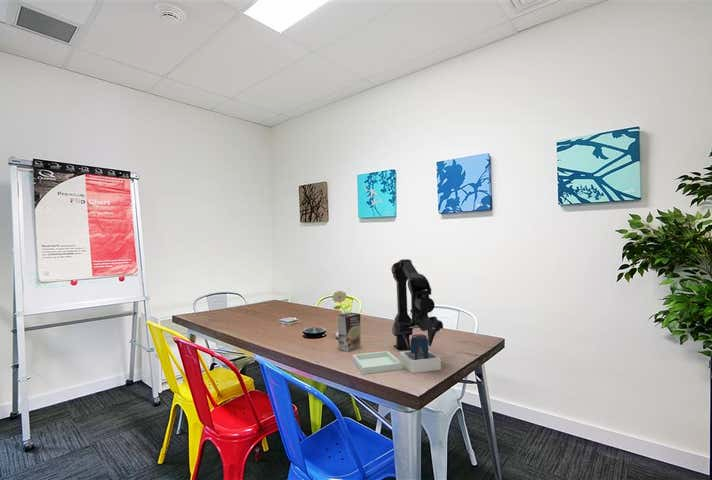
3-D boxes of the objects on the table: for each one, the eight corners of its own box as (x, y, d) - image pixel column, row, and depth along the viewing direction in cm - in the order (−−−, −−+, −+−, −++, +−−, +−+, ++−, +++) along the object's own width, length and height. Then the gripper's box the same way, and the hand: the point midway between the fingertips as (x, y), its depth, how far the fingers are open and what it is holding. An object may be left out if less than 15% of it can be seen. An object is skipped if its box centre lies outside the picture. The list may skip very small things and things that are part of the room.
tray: (352, 360, 144) (352, 354, 144) (388, 356, 149) (387, 351, 149) (363, 374, 129) (363, 367, 129) (402, 369, 133) (402, 363, 133)
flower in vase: (358, 334, 186) (357, 289, 186) (355, 340, 174) (354, 291, 175) (334, 334, 187) (333, 289, 187) (330, 340, 175) (329, 292, 176)
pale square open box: (400, 362, 140) (400, 351, 140) (426, 359, 144) (426, 349, 144) (412, 373, 129) (412, 361, 129) (440, 369, 132) (440, 358, 132)
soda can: (421, 362, 141) (420, 333, 141) (432, 367, 135) (431, 336, 135) (407, 365, 138) (407, 335, 138) (418, 370, 131) (417, 339, 132)
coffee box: (347, 352, 156) (346, 317, 156) (338, 349, 161) (337, 315, 161) (361, 347, 163) (360, 313, 163) (352, 344, 167) (351, 312, 167)
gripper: (405, 313, 126) (405, 355, 126) (449, 310, 131) (450, 350, 131) (394, 308, 137) (394, 347, 137) (435, 305, 142) (436, 342, 142)
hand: (419, 347), depth 136 cm, fingers open, 9 cm apart
